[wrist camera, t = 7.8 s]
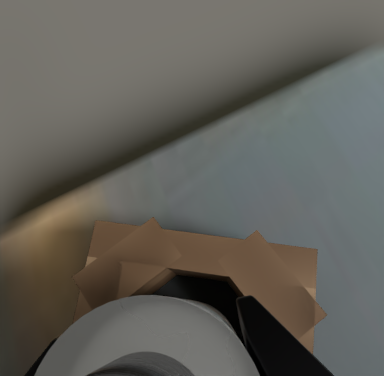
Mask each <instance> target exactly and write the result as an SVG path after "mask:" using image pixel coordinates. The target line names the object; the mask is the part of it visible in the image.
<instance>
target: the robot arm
mask: <svg viewBox="0 0 384 376" xmlns="http://www.w3.org/2000/svg"><path fill="white" fill-rule="evenodd" d="M236 305H237V310H238V316H239V321H240V326H241V330H242V334H243V338H244V342H245V346H246V350H247V352H248V354H249V355H250V357H251V359H252V360H253V362H254V364H255V366H256V368H257V370H258V373H259V375H260V376H334V375H333V374H332V373H331V372H330V371H329V370H328V369H327V368H326V367H325V366H324V365H323V364H322V363H321V362H320V361H319V360H318V359H317V358H316V357H315V356H314V355H313V354H312V353H311V352H310V351H308V350H307V349H306V348H305V347H304V346H303V345H302V344H301V343H300V342H299V341H298V340H297V339H296V338H295V337H294V336H293V335H292V334H291V333H290V332H289V331H288V330H287V329H286V328H285V327H284V326H283V325H282V324H281V323H280V322H279V321H278V320H277V319H276V318H275V317H274V316H273V315H272V314H271V313H270V312H269V311H268V310H267V309H266V308H265V307H264V306H263V305H262V304H261V303H260V302H259V301H258V300H257V299H256V298H255V297H253V296H252V295H248V296H244V297H239V298H237V299H236ZM58 338H59V337H58ZM58 338H55V339H54V340H53V341H52V342H51V343H50V344H49V346H48V347H47V348H46V349H45V351H44V352H43V353H42V354H41V356H40V357H39V358H38V359H37V361H36V362H35V363H34V364H33V366H32V367H31V368H30V369H29V371H28V372H27V373H26V374H25V375H24V376H34V375H35V373H36V371H37V369H38V367H39V365H40V363H41V362H42V360H43V359H44V357H45V355H46V354H47V352H48V351H49V349H50V348H51V347H52V345H53V344H54V343H55V342H56V340H57V339H58Z"/></svg>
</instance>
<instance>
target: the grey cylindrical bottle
mask: <svg viewBox="0 0 384 376" xmlns="http://www.w3.org/2000/svg"><path fill="white" fill-rule="evenodd" d="M34 376H260V375H259V373H258V370H257V368H256V366H255V364H254V362H253V360H252V359H251V357H250V355H249V354H248V352H247V350H246V349H245V347H244V345H243V344H242V342H241V341H240V339H239V337H238V336H237V334H236V332H235V331H234V329H233V327H232V326H231V324H230V322H229V321H228V320H227V318H226V317H225V316H224V315H223V314H222V313H221V312H220V311H218V310H217V309H216V308H214V307H212V306H211V305H209V304H206V303H204V302H200V301H194V300H187V299H180V298H174V297H167V296H158V295H137V296H131V297H125V298H121V299H118V300H115V301H111V302H108V303H106V304H104V305H102V306H100V307H97V308H95V309H94V310H92V311H90V312H89V313H87V314H85V315H84V316H82V317H81V318H80V319H78V320H77V321H76V322H75V323H73V324H72V325H71V326H70V327H69V328H68V329H67V330H66V331H65V332H64V333H63V334H62V335H61V336H60V337H59V338H58V339H57V340H56V342H55V343H54V344H53V345H52V347H51V348H50V349H49V351H48V352H47V354H46V355H45V357H44V359H43V360H42V362H41V363H40V365H39V367H38V369H37V371H36V373H35V375H34Z"/></svg>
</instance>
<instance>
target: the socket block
mask: <svg viewBox="0 0 384 376" xmlns="http://www.w3.org/2000/svg"><path fill="white" fill-rule="evenodd" d="M316 271H317V249H312V248H304V247H296V246H289V245H281V244H274V243H267V242H266V240H265V239H264V238H263V237H262V235H261V234H260V233H259V232H258V231H257V230H256V231H255V232H254V233H253V234H251V235H250V236H249V237H247V238H246V239H245V240H243V239H235V238H228V237H220V236H212V235H205V234H197V233H189V232H182V231H174V230H166V229H162V228H161V226H160V225H159V224H158V222H157V221H156V220H155V218H154V217H152V218H151V219H150V220H148V221H147V222H146V223H144V224H143V225H142V226H136V225H128V224H120V223H113V222H105V221H97V220H96V221H95V225H94V230H93V234H92V239H91V243H90V248H89V252H88V257H87V261H86V265H85V268H83V269H82V270H80V271H79V272H78V273H76V274H75V275H74V276H72V278H73V280H74V281H75V283H76V285H77V286H78V288H79V289H80V292H79V297H78V301H77V306H76V310H75V314H74V319H73V323H75V322H76V321H77V320H78V319H80V318H81V317H82V316H84V315H85V314H87V313H89V312H90V311H92V310H94V309H95V308H97V307H100V306H102V305H104V304H106V303H108V302H111V301H115V300H118V299H121V298H125V297H131V296H137V295H152V294H153V293H154V292H156V291H157V290H158V289H160V288H161V287H162V286H163V285H165V284H166V283H167V282H169V281H170V280H171V279H173V278H174V277H175V276H176V275H182V276H189V277H196V278H203V279H210V280H217V281H223V282H227V283H228V284H229V285H230V286H231V288H232V289H233V290H234V292H235V293H236V294H237V296H238V297H244V296H248V295H252V296H253V297H255V298H256V299H257V300H258V301H259V302H260V303H261V304H262V305H263V306H264V307H265V308H266V309H267V310H268V311H269V312H270V313H271V314H272V315H273V316H274V317H275V318H276V319H277V320H278V321H279V322H280V323H281V324H282V325H283V326H284V327H285V328H286V329H287V330H288V331H289V332H290V333H291V334H292V335H293V336H294V337H295V338H296V339H297V340H298V341H299V342H300V343H301V344H302V345H303V346H304V347H305V348H306V349H307V350H308V351H310V352H311V353H312V354H313V341H314V326H315V325H316V324H317V323H318V322H320V321H321V320H322V319H323V318H324V317H325V316H327V314H326V313H325V312H324V310H323V309H322V308H321V307H320V306H319V304H318V303H317V302H316V301H315V295H316ZM73 323H72V324H73Z"/></svg>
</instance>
